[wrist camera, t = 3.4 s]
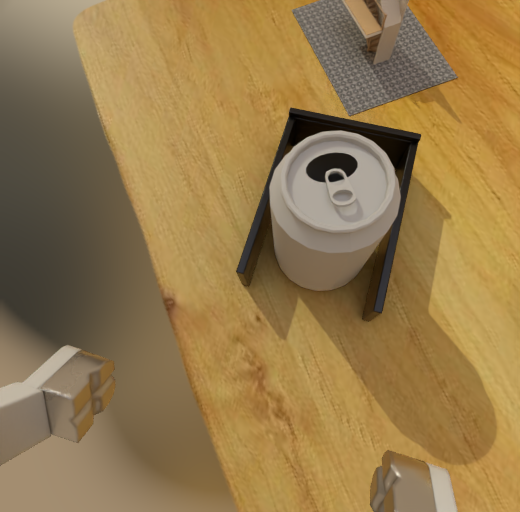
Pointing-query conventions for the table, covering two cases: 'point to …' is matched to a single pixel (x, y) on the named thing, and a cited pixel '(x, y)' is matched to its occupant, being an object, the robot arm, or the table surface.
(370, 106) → the architectural model
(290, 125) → the frame
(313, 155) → the can
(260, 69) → the table surface
